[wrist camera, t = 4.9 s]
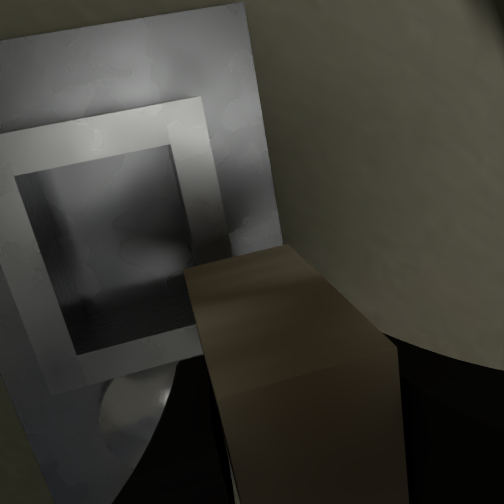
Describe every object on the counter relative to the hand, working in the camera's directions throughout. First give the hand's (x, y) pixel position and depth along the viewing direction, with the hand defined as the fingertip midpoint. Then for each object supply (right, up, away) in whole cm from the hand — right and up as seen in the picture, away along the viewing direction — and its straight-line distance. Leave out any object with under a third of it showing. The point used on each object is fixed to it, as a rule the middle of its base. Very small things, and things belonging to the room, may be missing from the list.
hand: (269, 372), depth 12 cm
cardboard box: (-1, +1, +2) cm, 2 cm away
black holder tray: (-5, +1, +8) cm, 9 cm away
